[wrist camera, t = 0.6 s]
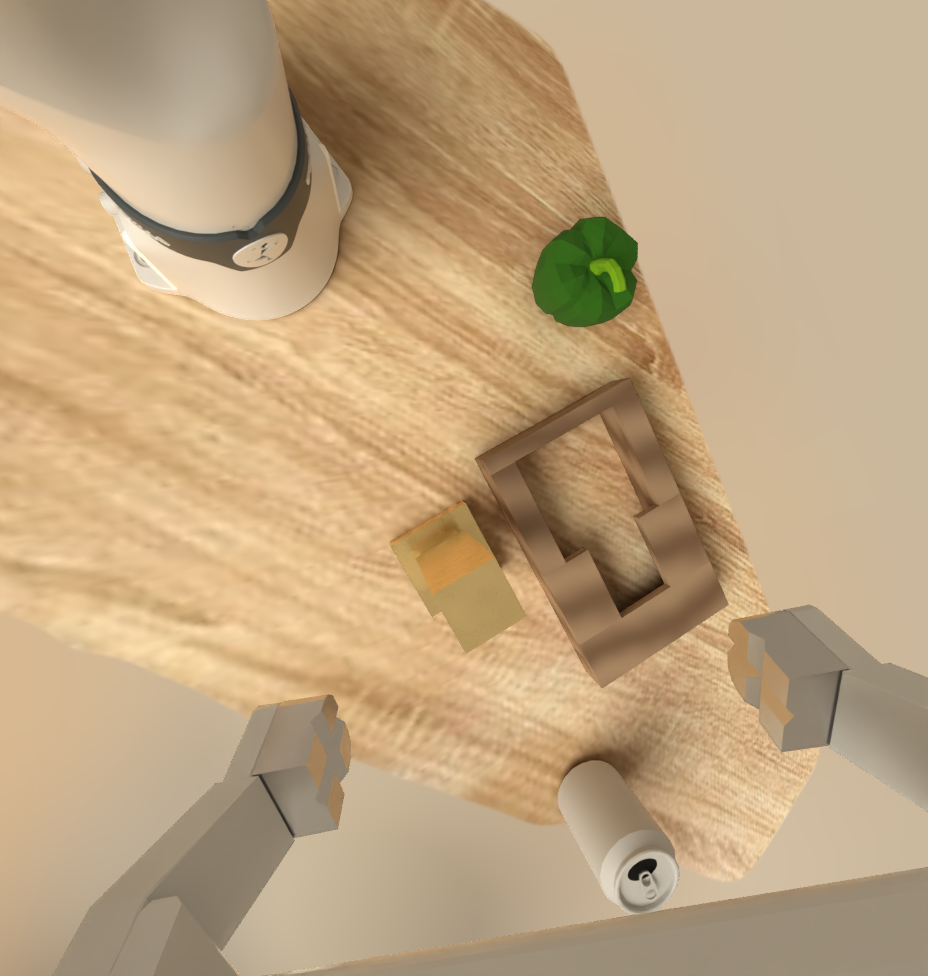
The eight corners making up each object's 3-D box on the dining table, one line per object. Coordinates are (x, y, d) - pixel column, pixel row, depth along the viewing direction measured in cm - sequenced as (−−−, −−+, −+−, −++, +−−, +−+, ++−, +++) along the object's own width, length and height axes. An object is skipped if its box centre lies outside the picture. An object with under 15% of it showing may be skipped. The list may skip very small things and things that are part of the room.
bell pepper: (520, 243, 45) (564, 190, 36) (601, 250, 47) (664, 202, 37) (518, 335, 46) (561, 308, 36) (598, 339, 48) (658, 315, 38)
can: (608, 744, 53) (677, 831, 42) (623, 800, 55) (695, 900, 43) (546, 772, 52) (600, 869, 40) (564, 829, 53) (621, 940, 42)
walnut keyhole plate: (474, 458, 47) (483, 460, 43) (611, 381, 49) (630, 377, 45) (586, 671, 52) (602, 688, 48) (705, 593, 54) (728, 604, 50)
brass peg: (389, 542, 46) (402, 588, 32) (462, 500, 47) (503, 528, 33) (429, 611, 47) (457, 682, 34) (499, 569, 48) (553, 621, 35)
